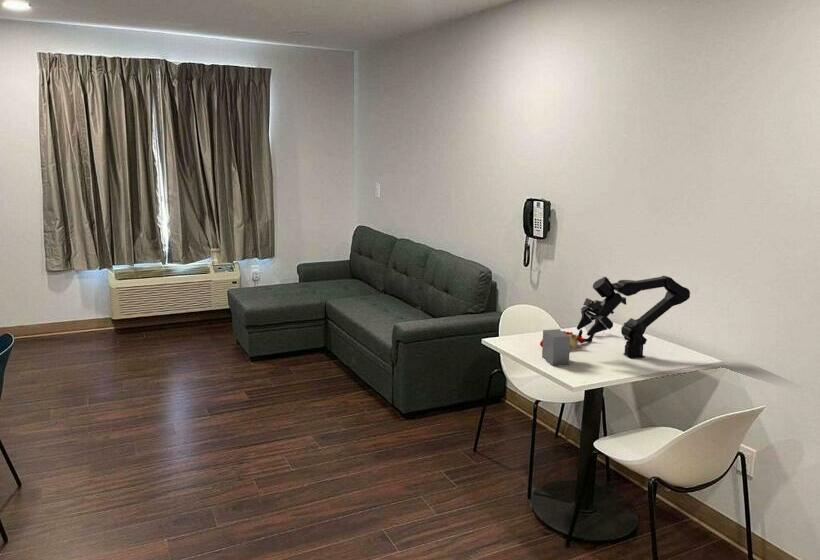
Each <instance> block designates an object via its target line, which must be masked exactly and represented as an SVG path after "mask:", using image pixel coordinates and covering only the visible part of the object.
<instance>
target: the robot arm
mask: <svg viewBox="0 0 820 560" xmlns="http://www.w3.org/2000/svg"><path fill="white" fill-rule="evenodd" d="M659 288H664V289H665V290H666V293H665V295H664V297H663V298H662V299H660V301H659V302H657V303H656V304H655V305H653V306H651V308H650V309H649V310H647V311H646V312H645V313H643V315H641V316H640V317H638V318H636V319H634V318H632V317H631V318H629V319H628V320H627V321H626V322H624V323H623V325H622V327H621V330H620V331H621V332H620V333H621V335H622V336H623V339H624V340H625V344H624V352H623V354H622V355H624V356H626V357H628V358H629V359H642V358H643V359H644V358H646V356H645V355H644V345H646V344H647V343H646V342H647V341H648V339H647V338H646V337H645V336H644V334H645V332H646V330H647V327H649V326H650V325H652V324H653V323H654V322H655V321H656V320H658V319H659V318H660V317H661V316H663V315H664V314H665V313H666V312H667V311H669V310H670V309H671V308H672V307H675V306H678V305H681V304H683V303H685V302H686V301H688V300H689V299H690V298H691V291H690V289H689V288H687V287H684V286H682V285H681V284H680V283H678V282H677V281H675V280H674V279H673V278H672V277H670V276H667V275H662V276H658V277H651V278H647V279H646V278H645V279H639V280H633V279H619V280H618V281H617V282H611V281H610V279H609V278H608V277H607V276H602V277H601V278H600V279H598V280H596V281H594V283H593V285H592V289H594V291H595V292H597V294H598V295H599V296H600V297H601V298H604V299H603V300H602V301H601V300H598V299H595V300H592V299H591V298H588V297H586V298H585V300H584V303H583V304H582V305H583V306H582V307H581V308H580V313H581V318H580V321H579V322H578V325H577V326H576V330H579V331H580V330H581V329H583V328H584V327H585V326H586V325H588V324H592V323H595V324H594V325H593V326H592V327H591V329H590V330H589V331H588V332H587V333H586V335H587V336H588V337H589V336H590V335H592V334H595V333H596V334H597V333H600V332H605V331H607V330H611V329H612V328H613V327H614V322H613V321H612V320H611V319H610V318H609V317H608V316H610V314H611V315H614V313H615V312H614V311H615V309H616V308H618V306H619V305H620V304H623V305H625V306H626V305H627V298H626V297H630V296H634V295H636V294H638V293H640V292H641V291H646V290H653V289H659ZM622 295H623V296H622ZM625 296H626V297H625ZM593 321H594V322H593ZM604 330H605V331H604ZM596 334H595V335H596Z"/></svg>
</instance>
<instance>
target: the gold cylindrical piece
mask: <svg viewBox="0 0 820 560" xmlns="http://www.w3.org/2000/svg"><path fill="white" fill-rule="evenodd" d="M569 336H570V350H575V349H576V348H577V344H578V341H577V339H576V336H575V334H574V333H573V334H570V335H569Z"/></svg>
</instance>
